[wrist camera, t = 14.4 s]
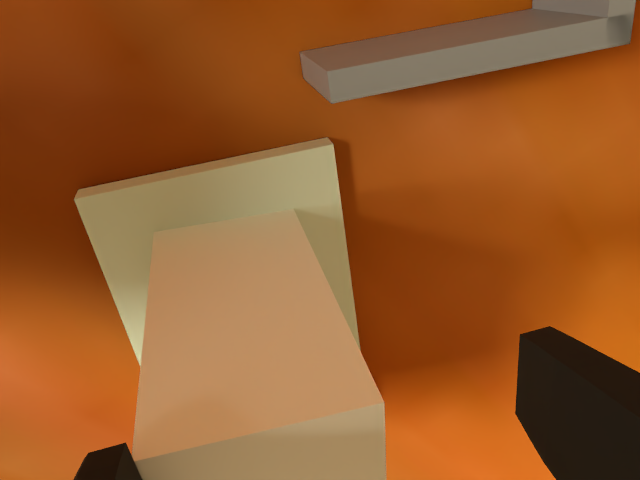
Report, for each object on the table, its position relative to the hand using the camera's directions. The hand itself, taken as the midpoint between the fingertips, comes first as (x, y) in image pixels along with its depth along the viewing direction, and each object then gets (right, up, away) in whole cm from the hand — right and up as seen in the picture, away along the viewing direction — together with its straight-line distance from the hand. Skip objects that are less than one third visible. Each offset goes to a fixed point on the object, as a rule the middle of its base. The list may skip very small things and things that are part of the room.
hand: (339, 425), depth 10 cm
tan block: (-3, 0, +9) cm, 10 cm away
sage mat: (-3, +1, +10) cm, 11 cm away
